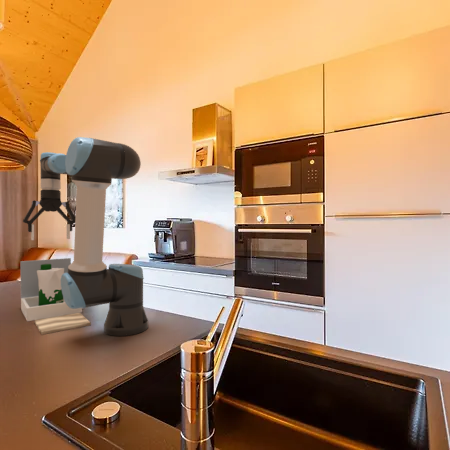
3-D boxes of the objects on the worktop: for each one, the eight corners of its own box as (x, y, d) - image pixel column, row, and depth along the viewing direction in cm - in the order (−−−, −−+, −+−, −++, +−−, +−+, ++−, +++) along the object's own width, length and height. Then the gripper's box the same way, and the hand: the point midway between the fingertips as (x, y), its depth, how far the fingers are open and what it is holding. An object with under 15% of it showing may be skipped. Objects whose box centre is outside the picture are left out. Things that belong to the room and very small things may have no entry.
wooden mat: (90, 325, 118) (90, 322, 118) (41, 334, 109) (41, 331, 109) (79, 315, 131) (79, 312, 131) (34, 322, 121) (34, 320, 121)
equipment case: (82, 312, 135) (81, 262, 135) (27, 321, 123) (26, 266, 123) (67, 299, 157) (67, 256, 157) (19, 306, 145) (18, 260, 144)
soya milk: (46, 308, 142) (46, 263, 141) (66, 308, 141) (66, 263, 141) (34, 313, 133) (34, 265, 133) (56, 314, 133) (55, 266, 132)
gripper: (79, 192, 147) (79, 238, 147) (15, 188, 132) (15, 240, 132) (84, 190, 141) (84, 238, 141) (16, 187, 126) (17, 241, 126)
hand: (50, 239), depth 137 cm, fingers open, 13 cm apart
